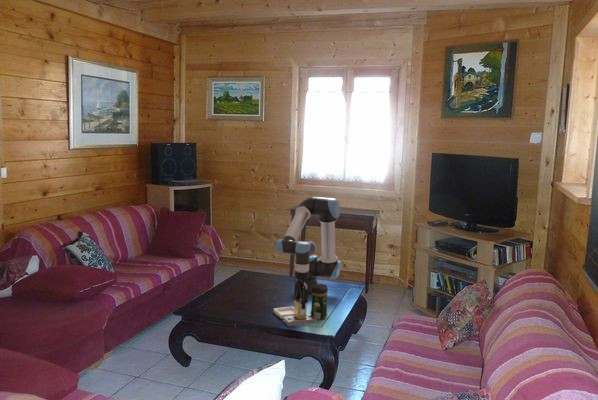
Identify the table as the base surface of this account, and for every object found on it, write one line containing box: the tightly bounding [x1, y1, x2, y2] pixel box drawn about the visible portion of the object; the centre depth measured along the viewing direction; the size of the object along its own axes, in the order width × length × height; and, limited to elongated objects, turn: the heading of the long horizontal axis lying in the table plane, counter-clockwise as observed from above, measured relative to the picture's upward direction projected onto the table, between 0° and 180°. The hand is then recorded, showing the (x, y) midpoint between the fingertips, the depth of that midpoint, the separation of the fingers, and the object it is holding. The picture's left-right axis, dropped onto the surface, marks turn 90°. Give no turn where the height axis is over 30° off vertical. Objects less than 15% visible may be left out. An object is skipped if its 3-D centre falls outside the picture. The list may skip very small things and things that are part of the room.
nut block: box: [293, 299, 308, 320], centre depth 279 cm, size 5×5×10 cm
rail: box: [282, 313, 317, 327], centre depth 279 cm, size 16×8×2 cm, turn 114°
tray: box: [273, 305, 294, 320], centre depth 290 cm, size 12×12×2 cm
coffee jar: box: [310, 283, 328, 321], centre depth 286 cm, size 10×8×19 cm
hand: (300, 312), depth 279 cm, fingers closed on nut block, 5 cm apart
